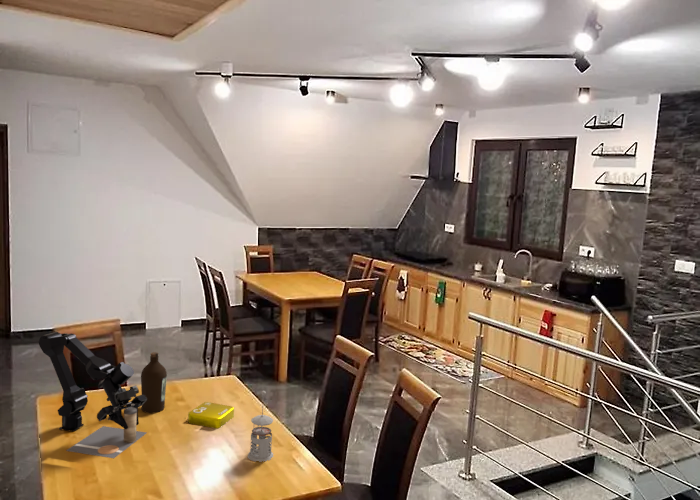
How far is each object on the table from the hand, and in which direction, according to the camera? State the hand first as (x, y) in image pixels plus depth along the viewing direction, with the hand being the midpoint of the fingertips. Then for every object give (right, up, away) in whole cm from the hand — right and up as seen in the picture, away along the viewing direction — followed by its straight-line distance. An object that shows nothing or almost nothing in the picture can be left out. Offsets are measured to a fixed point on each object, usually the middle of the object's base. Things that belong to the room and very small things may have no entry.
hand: (132, 426), depth 214 cm
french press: (+48, -11, 0) cm, 49 cm away
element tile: (+23, -6, +29) cm, 37 cm away
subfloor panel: (-9, -7, 0) cm, 11 cm away
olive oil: (-4, -3, +35) cm, 36 cm away
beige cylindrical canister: (-2, -6, +1) cm, 6 cm away
